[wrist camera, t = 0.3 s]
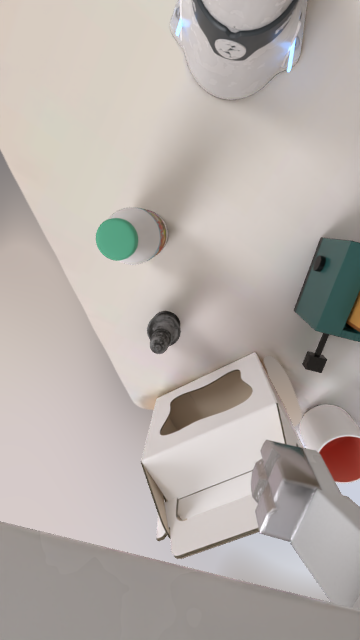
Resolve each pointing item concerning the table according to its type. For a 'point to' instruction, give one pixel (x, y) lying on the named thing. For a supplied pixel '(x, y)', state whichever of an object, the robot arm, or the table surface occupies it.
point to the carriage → (316, 357)
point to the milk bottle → (132, 236)
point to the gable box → (212, 454)
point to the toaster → (331, 288)
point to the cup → (333, 440)
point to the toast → (355, 315)
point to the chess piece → (163, 331)
